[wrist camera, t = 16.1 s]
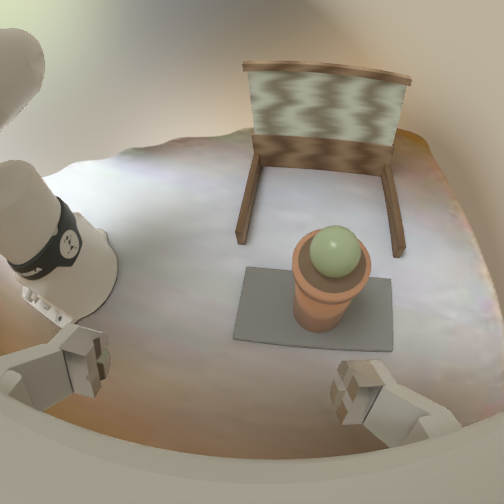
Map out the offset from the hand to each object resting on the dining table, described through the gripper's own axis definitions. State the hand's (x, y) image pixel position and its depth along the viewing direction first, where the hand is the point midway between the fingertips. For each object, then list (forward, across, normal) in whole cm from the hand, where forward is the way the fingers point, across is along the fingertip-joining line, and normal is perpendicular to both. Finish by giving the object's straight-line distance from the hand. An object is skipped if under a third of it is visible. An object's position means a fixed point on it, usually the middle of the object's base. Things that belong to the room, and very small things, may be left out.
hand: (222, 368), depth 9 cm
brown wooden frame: (+37, -14, -4) cm, 40 cm away
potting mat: (+24, -12, +9) cm, 29 cm away
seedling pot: (+24, -12, +8) cm, 28 cm away
